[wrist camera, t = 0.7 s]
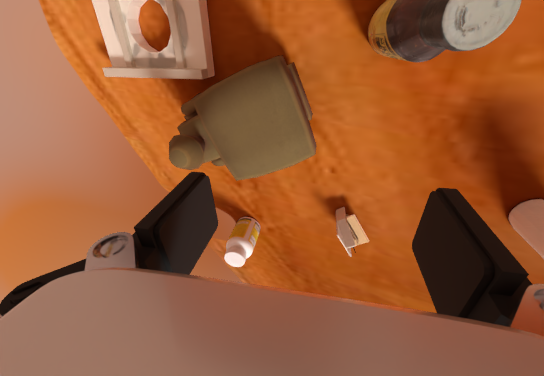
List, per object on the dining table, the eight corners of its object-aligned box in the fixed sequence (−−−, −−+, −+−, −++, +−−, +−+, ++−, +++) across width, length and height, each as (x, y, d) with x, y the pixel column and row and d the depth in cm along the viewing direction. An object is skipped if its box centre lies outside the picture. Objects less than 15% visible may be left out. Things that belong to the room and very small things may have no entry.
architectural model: (352, 202, 45) (356, 227, 39) (366, 228, 48) (372, 256, 41) (335, 208, 47) (336, 234, 40) (350, 233, 49) (353, 261, 43)
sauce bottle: (358, 49, 32) (390, 55, 16) (379, -10, 29) (449, -80, 12) (405, 62, 32) (489, 82, 15) (433, 5, 29) (578, -48, 12)
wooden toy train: (296, 43, 34) (274, 43, 20) (323, 119, 38) (320, 163, 24) (187, 100, 41) (115, 130, 27) (220, 158, 46) (173, 209, 32)
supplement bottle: (232, 226, 54) (215, 259, 46) (244, 211, 51) (228, 244, 43) (252, 239, 55) (239, 273, 46) (265, 225, 52) (253, 259, 44)
